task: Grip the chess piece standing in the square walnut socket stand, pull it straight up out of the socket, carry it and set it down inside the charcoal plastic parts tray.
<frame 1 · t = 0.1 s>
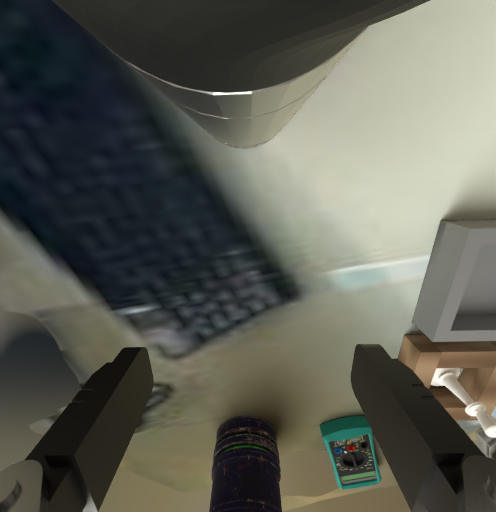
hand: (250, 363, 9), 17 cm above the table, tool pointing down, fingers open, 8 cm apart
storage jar: (246, 434, 37), on the table
socket stand: (438, 369, 32), on the table
chess piece: (437, 367, 32), resting in socket stand
digital multimeter: (347, 442, 39), on the table
lantern: (494, 432, 37), on the table
parts tray: (481, 274, 26), on the table
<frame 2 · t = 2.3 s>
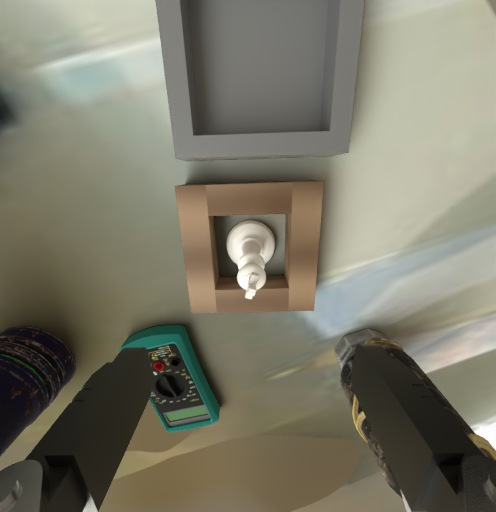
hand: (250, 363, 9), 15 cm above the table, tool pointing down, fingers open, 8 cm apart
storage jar: (37, 357, 28), on the table
socket stand: (250, 244, 23), on the table
chess piece: (250, 243, 23), resting in socket stand
digital multimeter: (178, 370, 30), on the table
lantern: (359, 350, 28), on the table
parts tray: (258, 70, 18), on the table
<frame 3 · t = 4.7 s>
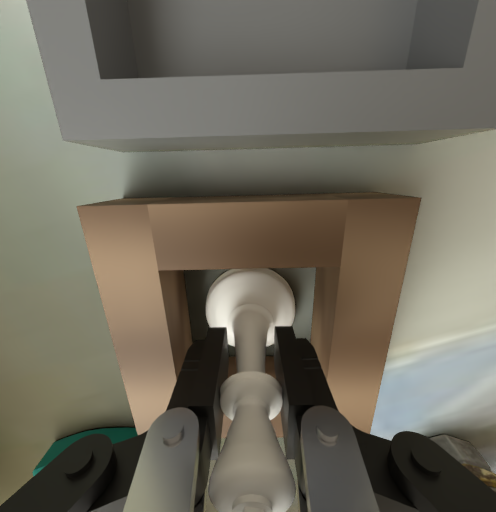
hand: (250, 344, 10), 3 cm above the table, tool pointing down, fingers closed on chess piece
socket stand: (250, 306, 13), on the table
chess piece: (250, 304, 13), resting in socket stand, touching gripper
digital multimeter: (138, 481, 19), on the table
lantern: (425, 461, 17), on the table
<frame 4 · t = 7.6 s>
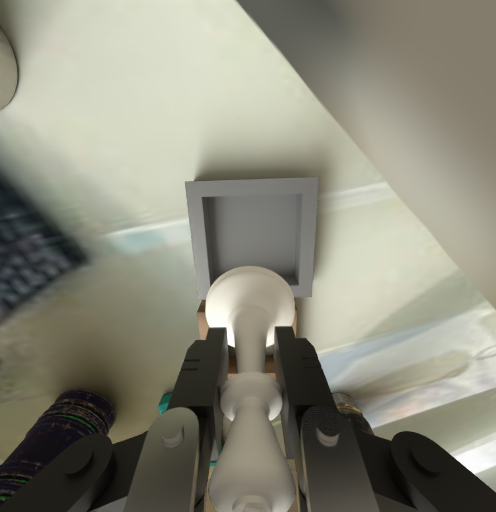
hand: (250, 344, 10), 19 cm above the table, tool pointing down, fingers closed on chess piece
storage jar: (86, 410, 37), on the table
socket stand: (248, 336, 32), on the table
chess piece: (250, 304, 13), point 15 cm above the table, touching gripper
lantern: (332, 407, 37), on the table
parts tray: (252, 236, 27), on the table
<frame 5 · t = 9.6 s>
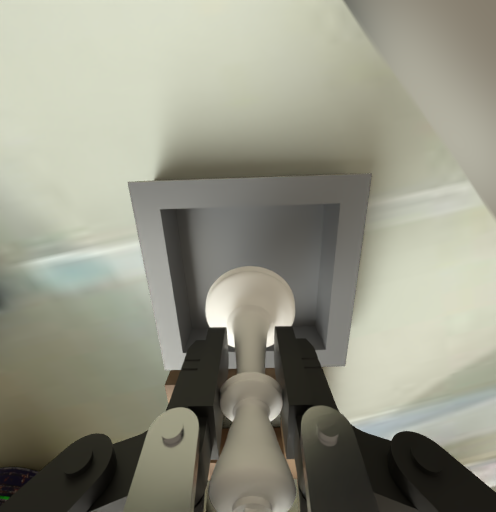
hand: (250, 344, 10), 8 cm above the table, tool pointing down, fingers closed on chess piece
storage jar: (27, 490, 28), on the table
socket stand: (245, 403, 22), on the table
chess piece: (250, 304, 13), point 5 cm above the table, touching gripper
parts tray: (251, 266, 18), on the table
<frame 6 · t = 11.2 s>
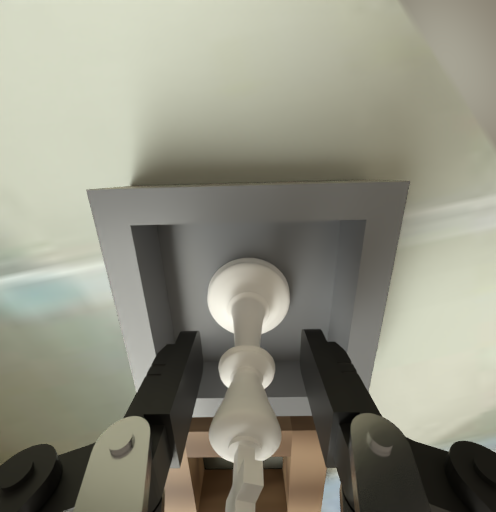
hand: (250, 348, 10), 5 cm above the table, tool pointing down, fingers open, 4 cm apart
socket stand: (242, 442, 19), on the table
chess piece: (248, 294, 14), point 1 cm above the table, touching parts tray
parts tray: (250, 289, 15), on the table
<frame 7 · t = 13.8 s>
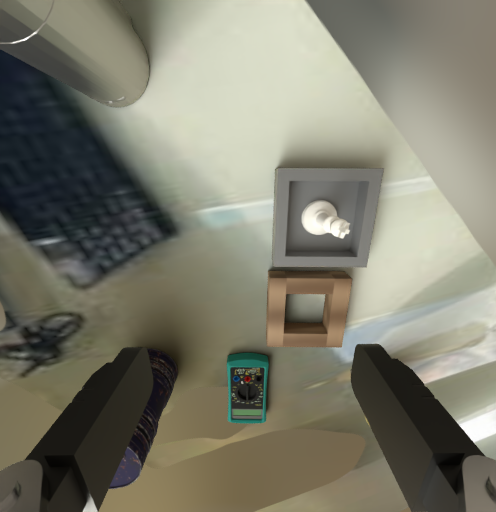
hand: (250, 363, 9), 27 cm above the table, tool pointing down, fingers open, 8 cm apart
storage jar: (152, 369, 43), on the table
socket stand: (303, 304, 38), on the table
chess piece: (318, 217, 33), point 1 cm above the table, touching parts tray
digital multimeter: (247, 382, 44), on the table
parts tray: (317, 217, 33), on the table
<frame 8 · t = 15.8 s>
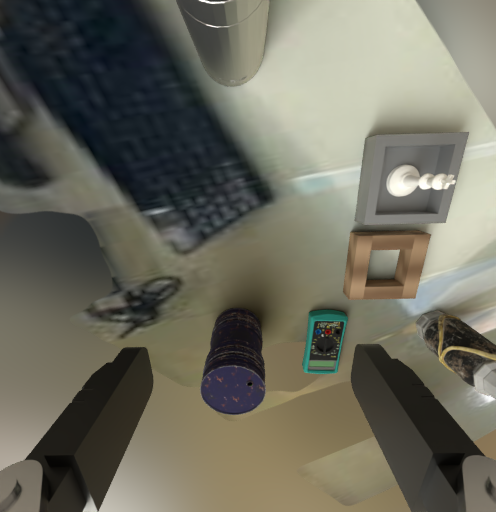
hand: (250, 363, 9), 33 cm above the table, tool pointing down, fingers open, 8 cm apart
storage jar: (237, 327, 48), on the table
socket stand: (378, 262, 43), on the table
chess piece: (400, 180, 37), point 1 cm above the table, touching parts tray
digital multimeter: (321, 338, 49), on the table
lantern: (430, 323, 47), on the table
parts tray: (399, 181, 38), on the table
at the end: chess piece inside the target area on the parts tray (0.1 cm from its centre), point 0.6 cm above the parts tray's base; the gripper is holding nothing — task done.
